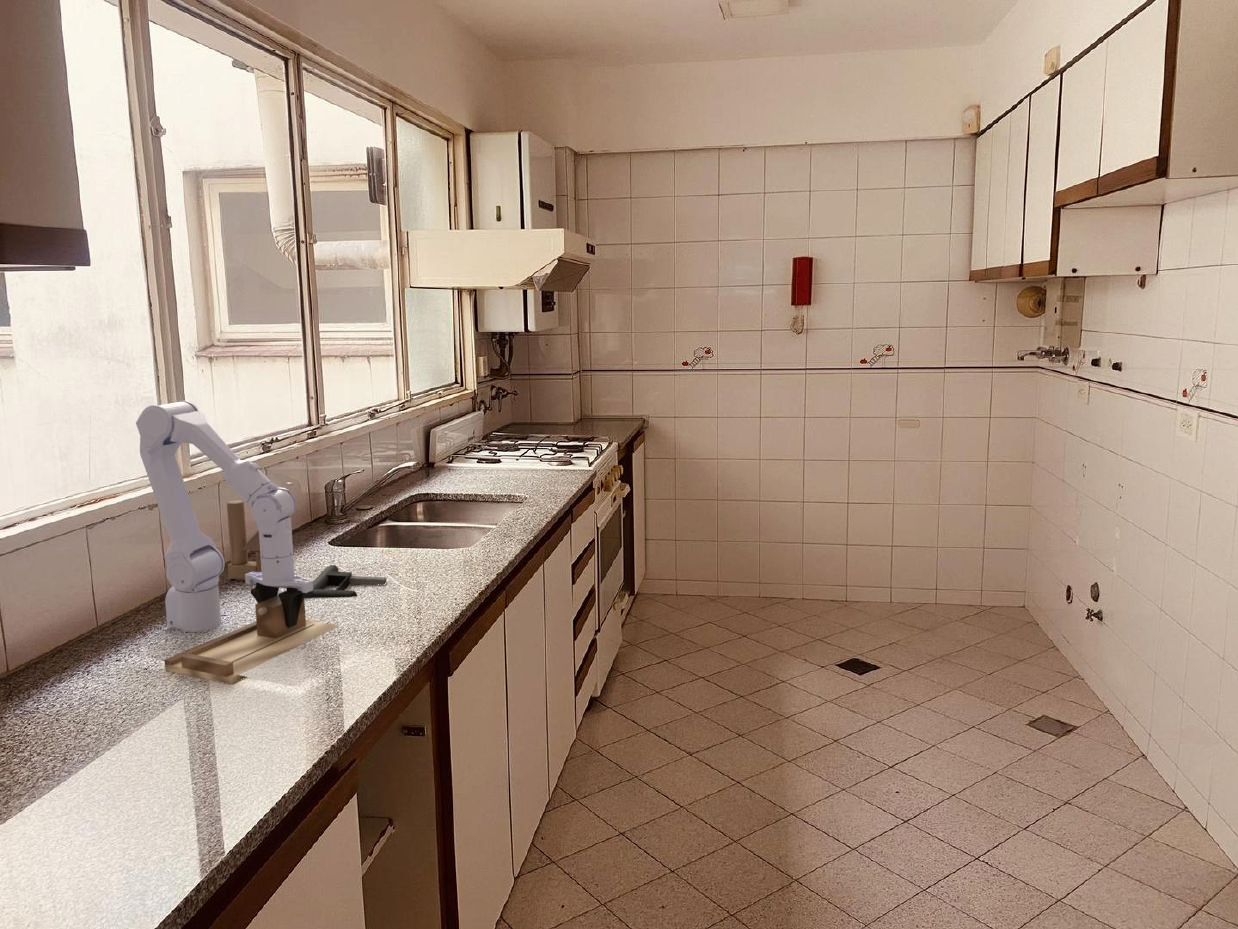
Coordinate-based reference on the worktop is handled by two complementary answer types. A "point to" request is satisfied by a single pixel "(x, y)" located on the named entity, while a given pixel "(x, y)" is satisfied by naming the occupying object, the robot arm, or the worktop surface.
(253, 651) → the board
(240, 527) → the wooden block
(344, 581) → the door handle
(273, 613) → the block with white pegs
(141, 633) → the worktop surface
